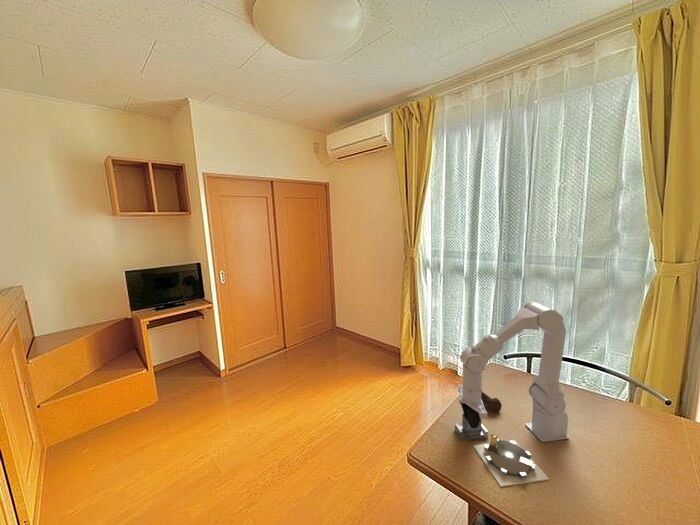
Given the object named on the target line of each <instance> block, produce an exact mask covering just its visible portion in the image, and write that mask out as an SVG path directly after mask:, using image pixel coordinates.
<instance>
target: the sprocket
mask: <svg viewBox="0 0 700 525" xmlns="http://www.w3.org/2000/svg"><path fill="white" fill-rule="evenodd" d="M498 437H499V436H498V435H497V434H495V433H492V434H491V435H490V444H489V445H487V444H488V443H484V444H485V446H484V450H485V451H487V452H488V456H486V461H487V462H488V464H491V463H492V464H493V465H494V466H495V467H496V468H497V469H498V470H500V471H501V474H503V475H505V476H506V475H507V474H508V475H511V476H518V477H520V478H521V479H526V477H527V474H528V473H529V472H530V471H532V472H535V465H534V464H532V461H531V460H530V458H531V459H532V454H531V452H530V451H529V450H524V449H523V447H522V446H520V447H519V446H518V445H516V442H517V441H516V442H513V441H511V440H502V439H500V440H499V438H498ZM508 441H510V442H508Z"/></svg>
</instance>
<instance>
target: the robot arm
mask: <svg viewBox="0 0 700 525" xmlns="http://www.w3.org/2000/svg"><path fill="white" fill-rule="evenodd" d="M524 330H534V331H535V330H536V331H540V330H541V331H542V332H543V338H542V347H541V352H540V353H541V354H540V360H539V361H540V362H539V368H538V376H536V377H533V378H532V382H531V384H530V385H529V388H528V394H529V396H531V399H532V400H531V401H532V412H531V413H532V414H531V422H529V423H528V422H527V423H525V424H524V425H525V426H526V427H527V428H528V429H529V430H530V432H532V434H534V436H536V438H537V439H539V440H540V442H542V443H545V442H553V441H560V440H561V441H562V440H567V439H569V438H570V437H569V435H568V426H569V425H568V423H569V416H568V414H567V412H566V410H565V409H566V405H567V403H566V401H565V393H564V391H563V389H562V387H561V385H560V383H559V382H560V377H561V376H560V375H561V370H562V363H563V355H564V349H565V341H566V333H567V329H566V326H565V324H564V315H562V314H560V312H558V311H557V310H554V309H552V308H549V307H547V306H545V305H543V304H541V303H539V302H537V301H533V300H531V301H528V302H527V303H525V304H523V306H522V307H520V308H518V311H517V313H516V315H515V316H514V317H513V318H512V319H510V320H509V321H508V322H507V323H506V324H505V325H504V326H502V328H501V329H500V330H498V331H497V332H496V333H494V334H491V333H490V334H488V335H484V336H483V337H481V338H482V339H481V340H480V341H478V342H477V343H476V344H474V346H473V345H472V346H471V347H469V348H465V349H464V350H463V351H462V352H461V354H460V355H459V360H460V361H461V362H462V385H458V386H457V389H458V390H457V391H458V393H459V394H460V397H459V398H458V401H459V403H460V405H461V406H460V407H461V408H462V414H468V415H469V421H470V427H471V428H477V427H478V425H479V422H480V419H481V420H484V419H487V418H488V412H487V410H486V409H485V406H484V405H485V404H484V403H483V402H482V399H481V390H482V389H483V388H482V385H483V384H482V383H483V382H482V381H483V371H484V370H485V369H486V366H487V363H489V361H490V360H491V359H492V358H493V357H495V356H496V355H497V354H499V353H500V352H501V351H502V350H504V344H505V343H506V342H507V341H509V340H511V339H512V338H514V337H515V336H517V335H519V334H520V333H521V332H523V331H524ZM482 391H483V390H482Z"/></svg>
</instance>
